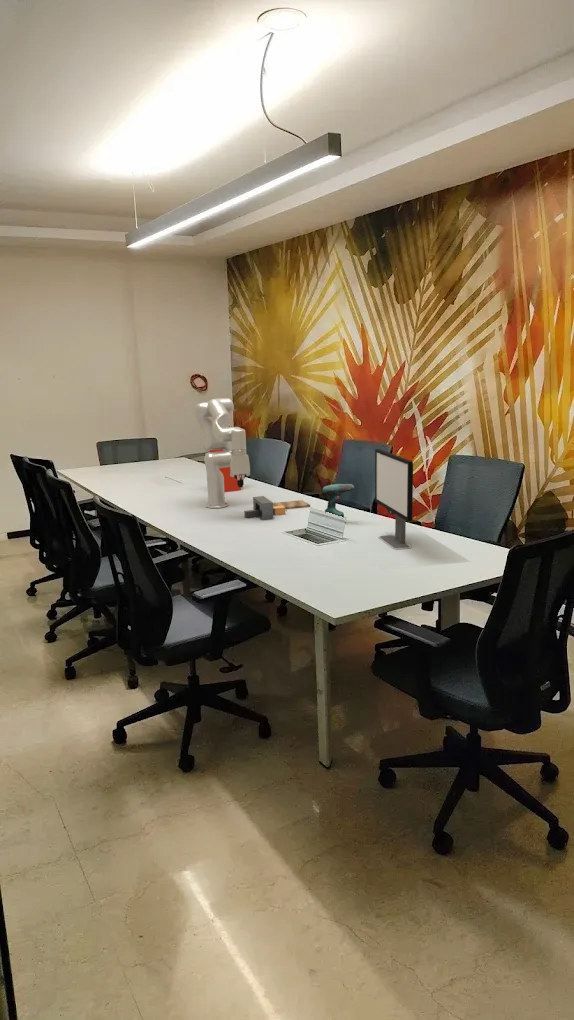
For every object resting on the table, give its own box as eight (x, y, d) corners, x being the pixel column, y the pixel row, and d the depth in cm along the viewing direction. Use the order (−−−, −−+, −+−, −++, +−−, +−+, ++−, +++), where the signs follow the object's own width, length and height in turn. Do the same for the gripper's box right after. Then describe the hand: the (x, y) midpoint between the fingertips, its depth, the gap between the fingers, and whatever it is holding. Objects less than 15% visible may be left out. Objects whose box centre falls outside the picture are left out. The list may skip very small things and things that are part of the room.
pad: (266, 511, 362) (266, 509, 362) (259, 506, 375) (259, 504, 375) (310, 506, 370) (310, 504, 370) (302, 502, 383) (302, 500, 383)
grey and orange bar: (246, 518, 347) (246, 511, 346) (244, 517, 351) (243, 509, 350) (287, 514, 354) (287, 507, 353) (284, 512, 358) (284, 505, 357)
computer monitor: (370, 532, 313) (370, 449, 304) (387, 530, 315) (387, 448, 306) (402, 556, 274) (403, 462, 265) (421, 554, 276) (423, 460, 267)
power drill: (352, 524, 328) (352, 485, 324) (321, 522, 334) (320, 484, 329) (355, 521, 335) (355, 482, 330) (325, 519, 340) (324, 481, 336)
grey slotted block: (262, 520, 342) (261, 503, 340) (253, 513, 359) (252, 497, 357) (273, 519, 344) (272, 502, 342) (264, 511, 361) (263, 496, 359)
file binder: (212, 490, 424) (209, 441, 416) (237, 488, 430) (235, 439, 422) (215, 493, 416) (212, 443, 409) (241, 490, 422) (239, 441, 415)
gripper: (226, 454, 335) (228, 489, 339) (254, 452, 339) (256, 487, 343) (223, 452, 342) (225, 486, 346) (251, 450, 346) (252, 484, 350)
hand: (240, 487), depth 344 cm, fingers closed
